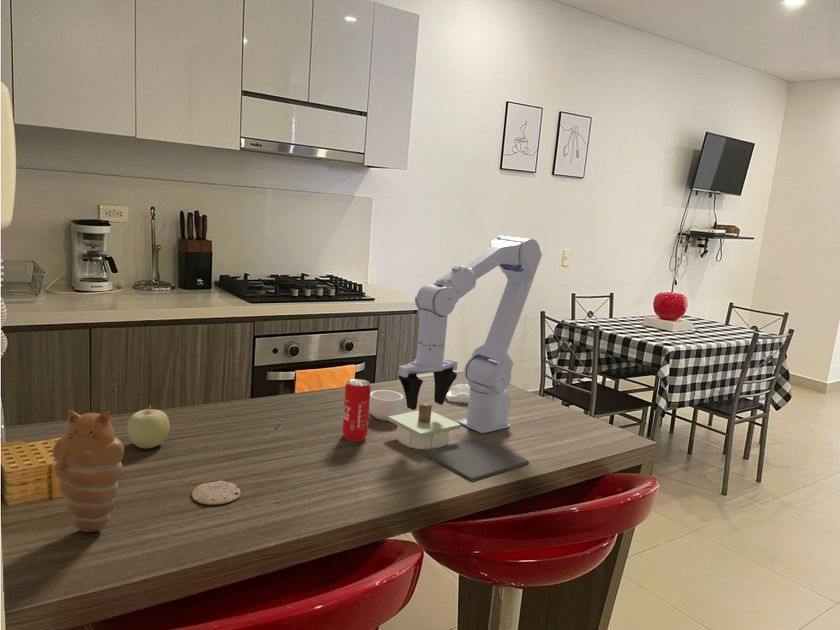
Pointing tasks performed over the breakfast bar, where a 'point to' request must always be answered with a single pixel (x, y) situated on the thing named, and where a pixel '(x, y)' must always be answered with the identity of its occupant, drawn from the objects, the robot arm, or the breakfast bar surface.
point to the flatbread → (216, 493)
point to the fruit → (148, 428)
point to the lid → (424, 421)
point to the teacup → (385, 404)
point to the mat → (475, 458)
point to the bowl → (422, 439)
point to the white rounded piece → (459, 393)
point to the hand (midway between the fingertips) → (425, 405)
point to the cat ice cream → (89, 469)
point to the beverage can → (356, 409)
